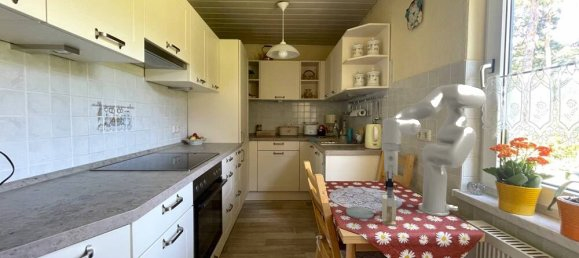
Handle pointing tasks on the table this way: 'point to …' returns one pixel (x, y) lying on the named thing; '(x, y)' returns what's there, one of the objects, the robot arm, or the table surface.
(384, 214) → the cream block
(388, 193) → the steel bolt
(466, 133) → the robot arm
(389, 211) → the clamp frame
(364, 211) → the ceramic plate
